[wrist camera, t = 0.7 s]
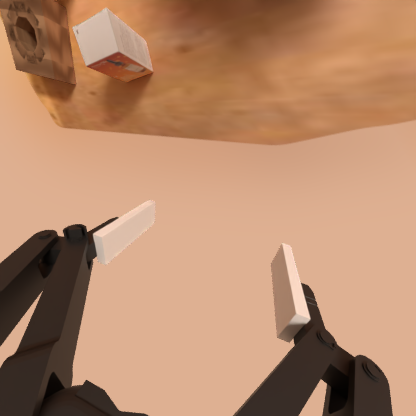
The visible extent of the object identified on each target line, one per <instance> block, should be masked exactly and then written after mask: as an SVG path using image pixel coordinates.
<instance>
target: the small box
mask: <svg viewBox="0 0 416 416" xmlns="http://www.w3.org/2000/svg"><path fill="white" fill-rule="evenodd" d="M72 28H73V31H74V34H75V37H76V39H77V42H78V45H79V48H80V51H81V53H82V56H83V59H84V62H85V64H86V66H87V67H89V68H91V69H94V70H96V71H99V72H101V73H104V74H106V75H109V76H111V77H114V78H116V79H119V80H121V81H124V82H129V81H131V80H134V79H136V78H139V77H142V76H145V75H148V74H150V73H153V68H152V64H151V59H150V55H149V51H148V47H147V42H146V40H144V39H143V38H142V37H141V36H140V35H138V34H137V33H136V32H135V31H134V30H132V29H131V28H130V27H129V26H128V25H127V24H125V23H124V22H123V21H122V20H121V19H119V18H118V17H117V16H116V15H115V14H113V13H112V12H111V11H110V10H109V9H107V8H105V9H103V10H102V11H100V12H99V13H97V14H96V15H94V16H92V17H91V18H89V19H87V20H85V21H84V22H82V23H80V24H78V25H76V26H73V27H72Z"/></svg>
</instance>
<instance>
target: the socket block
mask: <svg viewBox="0 0 416 416" xmlns="http://www.w3.org/2000/svg"><path fill="white" fill-rule="evenodd" d="M0 11H1V14H2V18H3V22H4V25H5V29H6V33H7V37H8V40H9V44H10V48H11V51H12V55H13V59H14V62H15V66H16V70H20V71H23V72H27V73H31V74H35V75H39V76H42V77H46V78H51V79H55V80H59V81H63V82H67V83H71V84H75V85H76V80H75V73H74V66H73V58H72V51H71V44H70V36H69V29H68V22H67V14H66V8H65V7H63V6H62V5H60V4H59V3H57V2H56V1H54V0H0Z"/></svg>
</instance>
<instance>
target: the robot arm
mask: <svg viewBox="0 0 416 416" xmlns="http://www.w3.org/2000/svg"><path fill="white" fill-rule="evenodd" d="M154 223H155V201H152V200H148V201H146V202H145V203H143V204H141V205H140V206H138V207H136V208H135V209H133V210H132V211H130V212H128V213H126V214H125V215H123V216H122V217H120V218H118V217H115V218H112V219H110V220H108V221H106V222H105V223H103V224H101V225H99V226H98V227H96V228H94V229H92V230H91V231H89V232H87V229H86V226H84V225H82V224H75V225H71V226H68V227H66V228H64V230H63V233H64V237H61V236H58V235H57V232H56V231H54V230H44V231H41V232H38V233H36V234H34V235H33V236H32V237H31V238H30V239H28V240H27V241H26V242H25V243H24V244H23V245H21V246H20V247H19V248H18V249H17V250H16V251H14V252H13V253H12V254H11V255H10V256H8V257H7V258H6V259H5V260H4V261H2V262H1V263H0V346H1V345H2V343H3V342H4V341H5V340H6V338H7V337H8V335H9V334H10V333H11V332H12V330H13V329H14V328H15V326H16V325H17V324H18V322H19V321H20V320H21V318H22V317H23V316H24V314H25V313H26V312H27V310H28V309H29V308H30V306H31V305H32V304H33V302H34V301H35V300H36V299H37V297H38V296H39V294H40V293H41V292H42V291H43V292H42V294H41V297H40V299H39V301H38V304H37V306H36V308H35V310H34V313H33V315H32V317H31V319H30V322H29V324H28V326H27V329H26V331H25V333H24V336H23V338H22V340H21V342H20V345H19V347H18V349H17V351H16V353H15V354H14V355H12V356H10V357H8V358H7V359H6V360H5V361H4V362H3V364H2V366H1V368H0V416H148V415H146V414H142V413H132V412H122V411H119V410H118V409H117V407H116V406H115V404H114V403H113V402H112V400H111V399H110V397H109V396H108V395H107V393H106V392H105V390H103V389H101V388H100V387H98V386H96V385H94V384H93V383H91V382H89V381H87V380H86V381H85V382H84V384H83V385H77V386H72V387H71V385H72V377H73V372H72V367H73V366H72V365H73V360H74V355H75V350H76V345H77V340H78V335H79V330H80V325H81V320H82V315H83V310H84V305H85V300H86V295H87V290H88V285H89V280H90V275H91V270H92V265H93V259H94V258H95V257H96V256H97V259H98V262H100V263H102V264H104V265H107V264H108V263H109V262H110V261H111V260H112V259H114V258H115V257H116V256H117V255H118V254H119V253H121V252H122V251H123V250H124V249H125V248H126V247H128V246H129V245H130V244H131V243H132V242H133V241H135V240H136V239H137V238H138V237H139V236H140V235H141V234H143V233H144V232H145V231H146V230H147V229H148V228H150V227H151V226H152V225H153V224H154ZM271 270H272V282H273V294H274V305H275V317H276V329H277V338H279V339H282V340H284V341H286V342H290V341H291V340H292V339H293V338H294V344H295V346H294V347H293V348H292V349H291V350H290V351H289V352H288V354H287V355H286V356H285V357H284V358H283V360H282V361H281V362H280V363H279V364H278V365H277V366H276V367H275V369H274V370H273V371H272V372H271V373H270V374H269V375H268V377H267V378H266V379H265V380H264V381H263V382H262V384H261V385H260V386H259V387H258V388H257V389H256V390H255V391H254V393H253V394H252V395H251V396H250V397H249V398H248V399H247V401H246V402H245V403H244V404H243V405H242V406H241V407H240V408H239V410H238V411H237V412H236V413H235V414H234V415H233V416H298V415H299V414H300V412H301V411H302V409H303V407H304V406H305V404H306V402H307V401H308V399H309V397H310V396H311V394H312V392H313V391H314V389H315V388H316V386H317V384H318V383H319V381H320V379H322V380H323V381H324V382H326V383H327V389H326V396H325V402H324V409H323V415H322V416H393V414H392V405H391V397H390V389H389V383H388V380H387V378H386V376H385V375H384V373H383V372H382V370H381V369H380V368H379V367H378V366H377V365H376V364H375V363H374V362H373V361H372V360H370V359H369V358H367V357H366V356H363V355H357V356H356V357H353V356H352V355H350V354H349V353H348V352H346V351H345V350H344V349H342V348H341V347H339V346H338V345H337V343H336V341H335V339H334V337H333V336H332V335H331V334H330V333H329V332H328V331H327V330H326V329H325V326H324V323H323V320H322V317H321V315H320V311H319V309H318V307H317V302H316V301H315V296H314V293H313V292H312V290H311V289H310V287H309V286H308V285H305V284H302V283H301V282H300V279H299V275H298V271H297V267H296V264H295V260H294V256H293V252H292V249H291V246H289V245H287V244H284V243H282V244H281V246H280V248H279V250H278V252H277V254H276V256H275V258H274V260H273V261H272V263H271ZM43 289H44V290H43Z"/></svg>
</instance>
